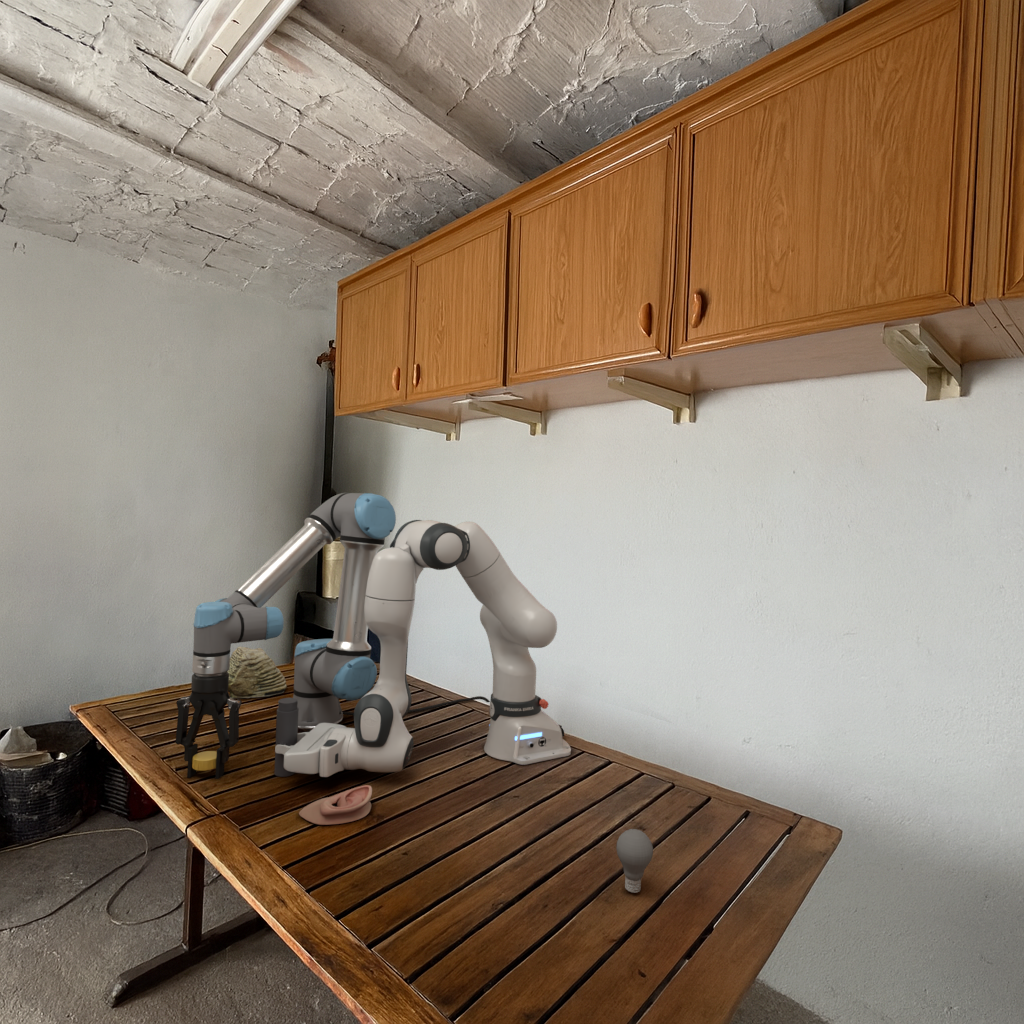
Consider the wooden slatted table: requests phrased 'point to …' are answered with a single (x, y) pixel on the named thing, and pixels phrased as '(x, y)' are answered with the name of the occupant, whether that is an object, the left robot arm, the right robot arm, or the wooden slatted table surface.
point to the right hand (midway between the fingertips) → (282, 742)
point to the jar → (286, 731)
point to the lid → (204, 760)
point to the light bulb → (634, 857)
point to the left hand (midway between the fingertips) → (205, 775)
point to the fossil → (254, 674)
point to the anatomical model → (339, 807)
